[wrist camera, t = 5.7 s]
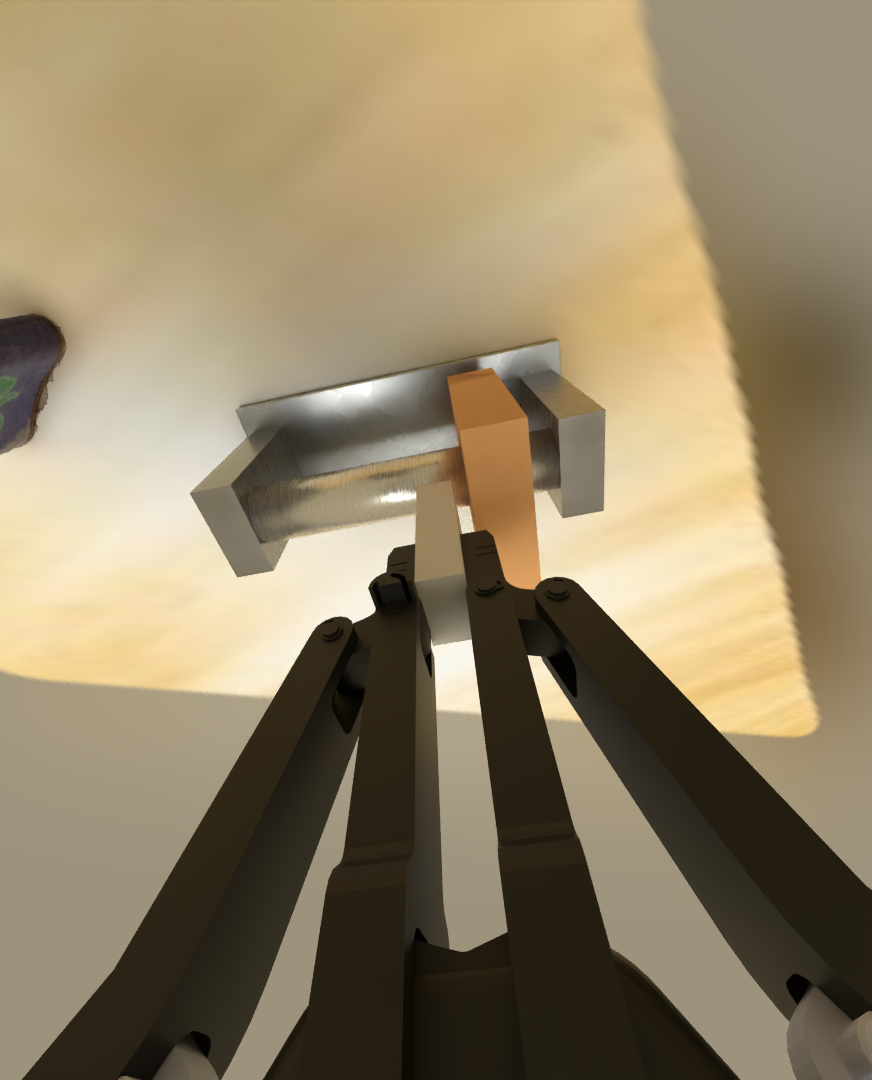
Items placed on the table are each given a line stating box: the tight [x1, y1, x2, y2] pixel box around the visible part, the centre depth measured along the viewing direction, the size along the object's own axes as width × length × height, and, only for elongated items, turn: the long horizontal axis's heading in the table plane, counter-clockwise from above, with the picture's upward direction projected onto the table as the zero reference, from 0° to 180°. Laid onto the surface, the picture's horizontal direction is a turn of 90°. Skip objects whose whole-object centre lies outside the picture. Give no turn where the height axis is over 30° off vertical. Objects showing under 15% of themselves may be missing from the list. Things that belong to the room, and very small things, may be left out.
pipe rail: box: [190, 339, 605, 577], centre depth 24 cm, size 20×8×10 cm, turn 101°
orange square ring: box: [447, 367, 541, 590], centre depth 21 cm, size 2×8×9 cm, turn 11°
